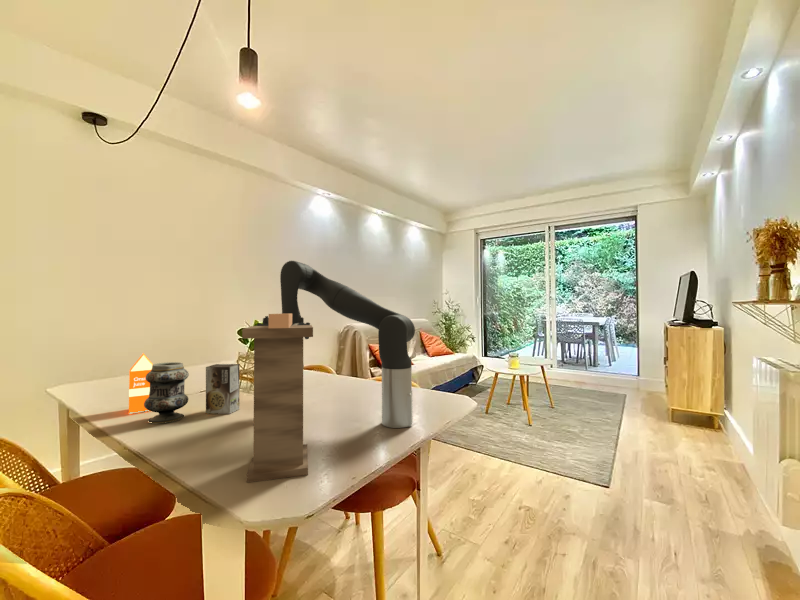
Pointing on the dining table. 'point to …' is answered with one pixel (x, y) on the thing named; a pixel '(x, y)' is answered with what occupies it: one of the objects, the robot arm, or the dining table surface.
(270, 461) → the stand
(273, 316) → the block
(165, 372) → the apothecary jar
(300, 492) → the dining table surface
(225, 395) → the coffee box
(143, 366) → the orange juice
